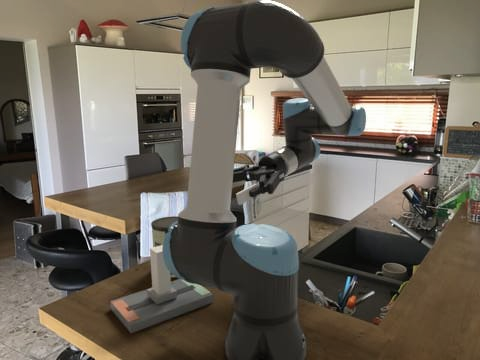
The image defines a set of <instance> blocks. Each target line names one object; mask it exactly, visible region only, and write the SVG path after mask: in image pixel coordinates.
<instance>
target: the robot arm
mask: <svg viewBox="0 0 480 360" xmlns="http://www.w3.org/2000/svg"><path fill="white" fill-rule="evenodd" d="M325 51H326V50H325V45H324V42H323V41H322V39H321V37H320V35H319V33H318V32H317V30H316V29H315V28H314V27H313V25H312V24H311V23H310V22H308V21H307V20H306V19H305V18H304V17H303V16H302V15H301V14H299V13H298V12H297V11H295V10H293V9H292V8H290V7H289V6H286V5H284V4H282V3H279V2H276V1H274V0H273V1H272V0H254V1H249V2H243V3H237V4H236V3H235V4H230V5H224V6H223V5H222V6H211V7H208V8H206V9H202V10H199V11H196V12H194V13H193V14H191V16H189V18H188V19H187V20H186V22H185V24H184V25H183V29H182V32H181V35H180V52H181V54H183V55H184V56H183V57H182V58H183V60H184V63H185V65H186V66H187V67H188V68H189V69H190V77H191V78H192V79H193V81H195V83H196V84H197V87H196V88H197V89H196V99H195V100H196V101H195V112H194V119H193V120H194V122H193V131H192V134H193V135H192V144H191V153H190V155H191V156H190V167H189V178H188V188H187V189H188V191H187V201H186V206H185V207H184V208H183V209H182V210H181V211H179V213H178V214H177V217H178V221H177V222H175V223H173V224H172V225H171V226H170V227H169V229H168V231H169V232H168V233H166V234H165V237H164V240H163V247H162V252H163V259H164V262H165V265H166V267H167V269H168V270H169V271H170V272H171V273H172V274H173V275H174V276H175V277H174V278H177V279H183V280H184V281H186V282H188V283H192V284H198V285H201V286H202V287H204V288H209V289H213V290H216V291H219V292H224V293H227V294H230V295H232V296H233V315H232V318H231V322H230V326H229V329H228V331H227V333H226V336H225V347H224V348H225V355H226V358H227V360H306V357H307V340H306V336H305V334H304V331H303V327H302V324H301V321H300V317H299V315H298V299H299V298H298V295H299V294H298V293H299V292H298V289H299V267H300V260H299V250H298V249H299V248H298V243H297V241H296V240H295V238H294V237H293V235H291V234H290V232H287V231H286V230H284V229H283V228H280V227H277V226H274V225H270V224H265V223H264V224H263V223H260V224H256V223H247V224H243V225H240V226H238V227H237V217H236V216H235V215H234V214H233V212H232V211H231V201H232V190H233V184H234V183H238V182H244V181H245V182H247V183H248V182H253V181H255V182H258V183H254V184H252V185H249V186H248V187H246V188H244V189H242V190H241V191H238V192H237V193H235V196H236V201H237V205H239V206H241V205H243V204H245V203H246V202H248V201H250V200H252V199H254V198H255V197H258V196H259V195H261V194H262V195H264V194H266V193H267V194H268V195H273V194H274V192H275V191H276V190H277V188H278V186H279V185H280V183H281V182H282V181H284V180H285V177H288V176H289V175H290V174H292V173H294V172H296V171H298V170H300V169H302V168H304V167H305V166H309V165H310V164H311V163H313V162H315V161H316V160H317V159H318V158H319V156H320V154H321V146H320V145H319V142H318V140H317V139H315V137H313V135H320V136H321V135H322V136H338V137H339V136H341V137H354V136H355V137H358V136H361V135H363V133H364V132H365V130H366V129H365V128H366V126H367V124H366V123H367V113H366V109H365V108H364V107H362V106H356V105H354V106H351V104H350V103H349V101H348V99H347V96H346V95H345V93H344V91H343V90H342V88H341V86H340V83H339V82H338V80H337V78H336V76H335V75H334V73H333V71H332V69H331V68H330V65H329V64H328V62H327V60H326V58H325ZM261 68H262V69H263V68H267V69H269V68H271V69H276V70H279V72H280V73H281V75H283V76H284V77H286V78H288V79H292V81H293V82H294V83H295V85H296V86H297V87H298V89H299V90H300V92H301V93H302V94H303V95H304V97H305V98H303V97H295V98H291V99H287V100H286V101H285V102H283V104H282V120H283V129H284V130H283V131H284V138H285V139H284V141H285V146H283V147H280V148H278V149H276V150H274V151H273V152H270V153H268V154H266V155H264V156H262V157H261V158H260V160H259V162H258V164H256V165H253V166H250V164H248V163H247V164H245V165H242V166H240V167H236V168H235V161H236V160H235V159H236V149H237V141H238V140H237V139H238V127H239V118H240V107H241V106H240V105H241V95H242V90H243V88H245V87H246V86H247V85H248V84H249V83H250V82H251V72H252V69H261Z"/></svg>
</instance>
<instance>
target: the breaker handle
mask: <svg viewBox="0 0 480 360" xmlns="http://www.w3.org/2000/svg"><path fill="white" fill-rule="evenodd" d="M162 247H163V246H162V245H161V246H157V247H153V246H152V247H149V253H150V254H149V256H150V269H151V272H150V273H151V285H152V286H151V287H150V288H147V289H146V290H147V296H148V297H149V298H151V299H152V300H153V301H154V302H155V303H156V304H160V303H163V302H165V301H168V300H171V299H174V298H177V291H176V290H175V289H174V288H172V287H171V282H172V281H171V279H172V278H171V276H170V271H169V270H168V269H167V267H166V265H165V262H164V259H163V252H162Z"/></svg>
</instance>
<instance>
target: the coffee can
mask: <svg viewBox="0 0 480 360" xmlns="http://www.w3.org/2000/svg"><path fill="white" fill-rule="evenodd" d="M177 221H178V215H177V216H174V215H173V216H164V217H159V218H157V219H154V220H152V221H151V224H150V226H151V230H152V248H153V247H157V246H161V245H162V246H163V240H164V237H165V234H166V233H168V232H169V231H168V229H169V227H170V226H171V225H172V224H173V223H175V222H177ZM170 276H171V279H172V278H176V277H175V276H174V275H173V274H172V273H171V272H170Z"/></svg>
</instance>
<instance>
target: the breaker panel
mask: <svg viewBox="0 0 480 360" xmlns="http://www.w3.org/2000/svg"><path fill="white" fill-rule="evenodd" d="M171 287H172V288H174V289H175V290H176V291H177V298H174V299H171V300H168V301H165V302H163V303H160V304H156V303H155V302H154V301H153V300H152V299H151V298H149V297H148V296H147V289H144V290H141V291H138V292H134V293H131V294H128V295H126V296H122V297H120V298H119V297H118V298H116V299H112V300H109V301H110V302H109V303H110V309H111V311H112V313H113V314H114V315H115V316H116V318H118V319H119V320H120V322H121V323H122V324H123V326H124V327H125V328H126V330H128V331H129V333H130V334H134V333H137V332H139V331H142V330H145V329H146V328H149V327H152V326H154V325H155V326H156V325H157V324H159V323H162V322H166V321H168V320H170V319H173V318H175V317H178V316H180V315H184V314H187V313H189V312H191V311H194V310H196V309H199V308H202V307H205V306H207V305H209V304H212V303H214V294H213V293H212V292H211V291H209V290H208V289H207V288H206V287H205V286H202V285H198V284H192V283H188V282H186V281H184V280H183V279H180V278H177V279H174V280H172V281H171Z"/></svg>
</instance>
